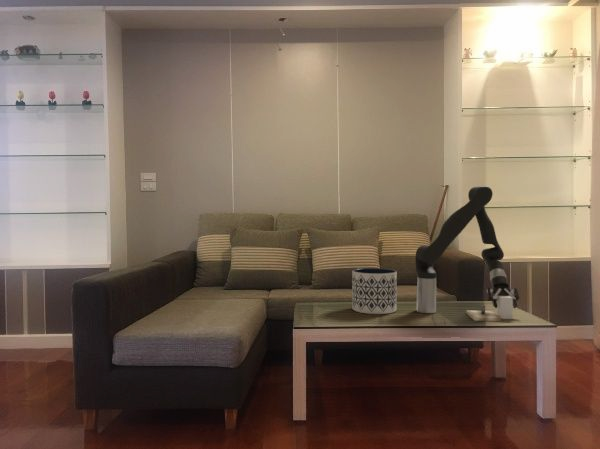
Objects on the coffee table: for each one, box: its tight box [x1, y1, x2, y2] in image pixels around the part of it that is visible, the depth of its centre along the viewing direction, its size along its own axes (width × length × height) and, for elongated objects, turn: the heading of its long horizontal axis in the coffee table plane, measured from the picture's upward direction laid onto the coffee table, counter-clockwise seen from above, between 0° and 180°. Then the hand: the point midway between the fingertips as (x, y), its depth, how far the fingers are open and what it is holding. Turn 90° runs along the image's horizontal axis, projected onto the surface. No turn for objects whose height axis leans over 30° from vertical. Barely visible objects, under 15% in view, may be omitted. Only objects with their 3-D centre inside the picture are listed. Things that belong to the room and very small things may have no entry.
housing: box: [496, 295, 514, 320], centre depth 237 cm, size 5×5×10 cm
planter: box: [351, 267, 398, 315], centre depth 254 cm, size 22×22×20 cm
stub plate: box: [465, 304, 502, 322], centre depth 238 cm, size 12×16×6 cm
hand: (505, 307), depth 236 cm, fingers open, 8 cm apart
